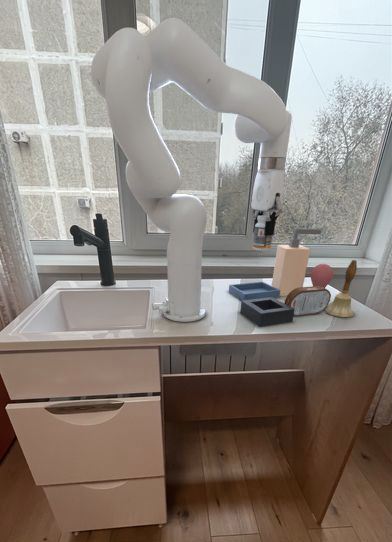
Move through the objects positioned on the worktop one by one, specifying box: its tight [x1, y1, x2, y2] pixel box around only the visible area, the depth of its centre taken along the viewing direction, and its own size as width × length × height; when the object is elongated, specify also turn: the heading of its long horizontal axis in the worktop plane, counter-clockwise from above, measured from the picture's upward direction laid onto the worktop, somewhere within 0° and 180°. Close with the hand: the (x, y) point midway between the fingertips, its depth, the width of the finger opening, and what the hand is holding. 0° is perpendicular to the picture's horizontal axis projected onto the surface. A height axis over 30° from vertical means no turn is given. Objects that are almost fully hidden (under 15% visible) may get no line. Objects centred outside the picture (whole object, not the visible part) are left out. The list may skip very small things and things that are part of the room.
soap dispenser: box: [271, 228, 323, 297], centre depth 102 cm, size 13×9×22 cm
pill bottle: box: [252, 215, 273, 252], centre depth 90 cm, size 6×6×10 cm
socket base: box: [239, 297, 295, 328], centre depth 84 cm, size 11×11×4 cm
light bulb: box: [310, 263, 334, 289], centre depth 98 cm, size 7×7×12 cm
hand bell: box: [324, 259, 358, 318], centre depth 86 cm, size 8×8×16 cm
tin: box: [283, 285, 332, 317], centre depth 86 cm, size 15×3×8 cm, turn 109°
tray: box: [228, 281, 281, 301], centre depth 103 cm, size 14×11×3 cm
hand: (263, 233), depth 90 cm, fingers closed on pill bottle, 5 cm apart
